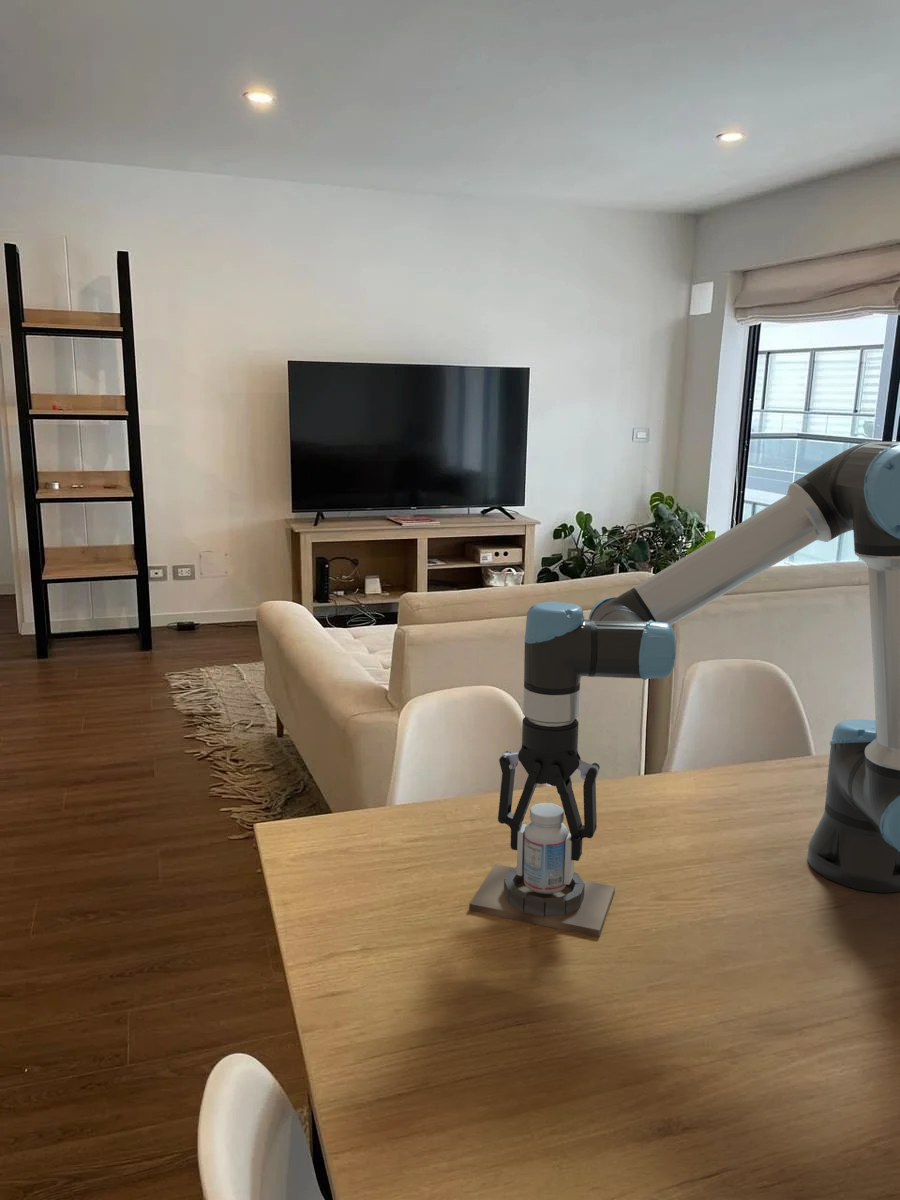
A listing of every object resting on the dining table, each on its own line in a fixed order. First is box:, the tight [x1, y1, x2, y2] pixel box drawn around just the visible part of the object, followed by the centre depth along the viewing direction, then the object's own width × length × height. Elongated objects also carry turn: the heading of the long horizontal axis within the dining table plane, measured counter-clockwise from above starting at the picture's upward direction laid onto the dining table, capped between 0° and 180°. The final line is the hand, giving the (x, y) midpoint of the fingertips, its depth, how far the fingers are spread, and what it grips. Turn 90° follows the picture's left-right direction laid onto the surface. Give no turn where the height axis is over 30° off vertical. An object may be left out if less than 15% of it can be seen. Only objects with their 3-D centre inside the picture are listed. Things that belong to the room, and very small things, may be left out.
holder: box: [468, 863, 616, 938], centre depth 124 cm, size 18×12×3 cm, turn 70°
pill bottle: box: [524, 802, 569, 894], centre depth 123 cm, size 6×6×11 cm
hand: (544, 875), depth 123 cm, fingers closed on pill bottle, 6 cm apart
